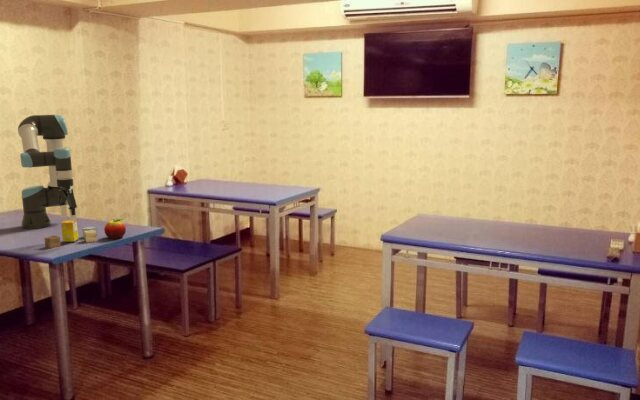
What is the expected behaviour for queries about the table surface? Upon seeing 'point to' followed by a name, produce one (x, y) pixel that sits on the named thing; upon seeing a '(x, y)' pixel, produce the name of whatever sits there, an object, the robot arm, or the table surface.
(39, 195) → the robot arm
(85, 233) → the maple cube
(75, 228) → the supplement box
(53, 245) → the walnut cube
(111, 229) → the fruit
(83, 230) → the sage-green cube
